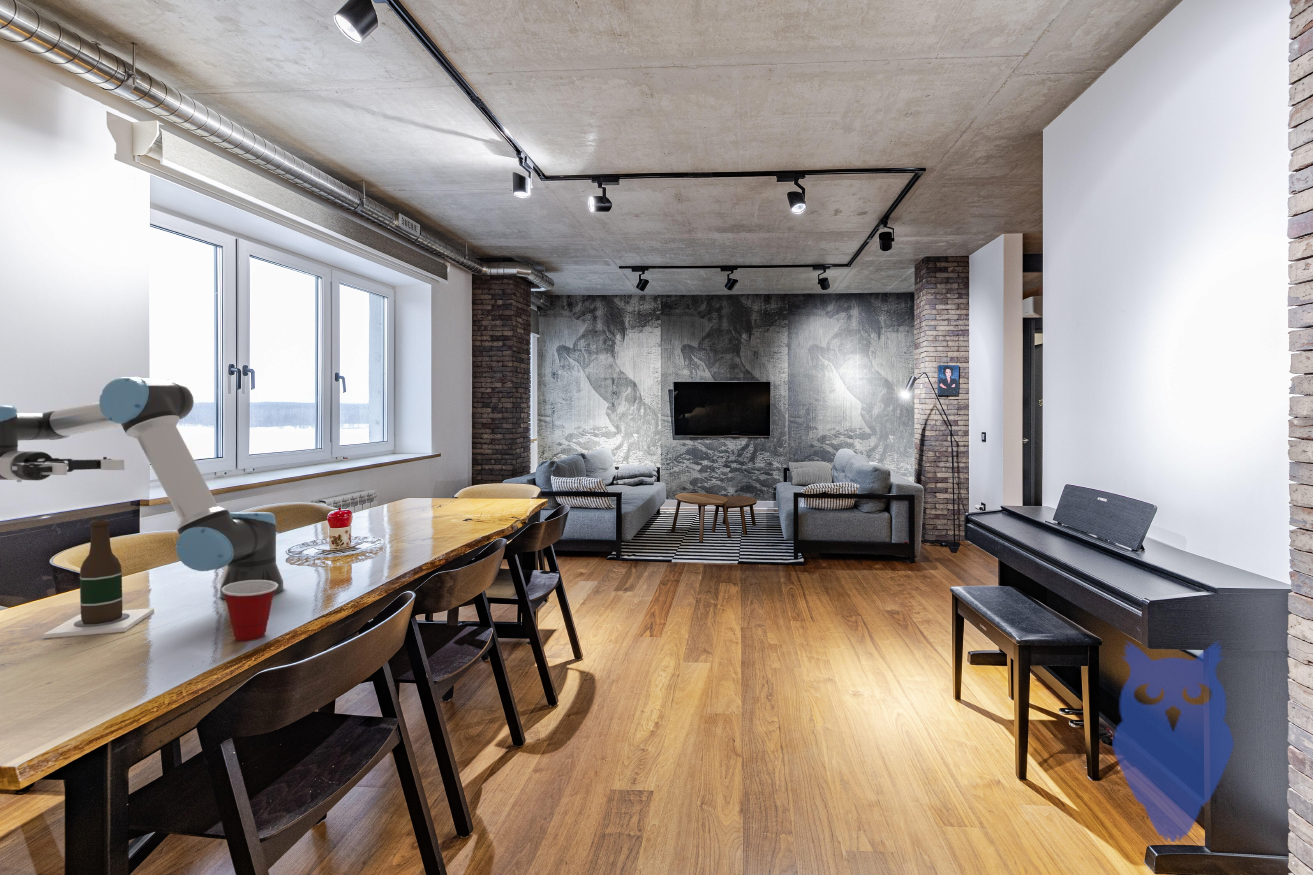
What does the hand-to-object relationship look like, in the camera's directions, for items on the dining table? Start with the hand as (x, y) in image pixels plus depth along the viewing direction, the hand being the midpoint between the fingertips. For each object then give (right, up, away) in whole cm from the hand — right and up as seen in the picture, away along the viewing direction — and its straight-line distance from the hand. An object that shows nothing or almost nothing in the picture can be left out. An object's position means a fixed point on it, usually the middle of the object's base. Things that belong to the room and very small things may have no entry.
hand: (95, 467), depth 157 cm
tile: (+9, -37, -8) cm, 39 cm away
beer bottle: (+9, -36, -8) cm, 38 cm away
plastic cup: (+50, -38, -16) cm, 65 cm away
